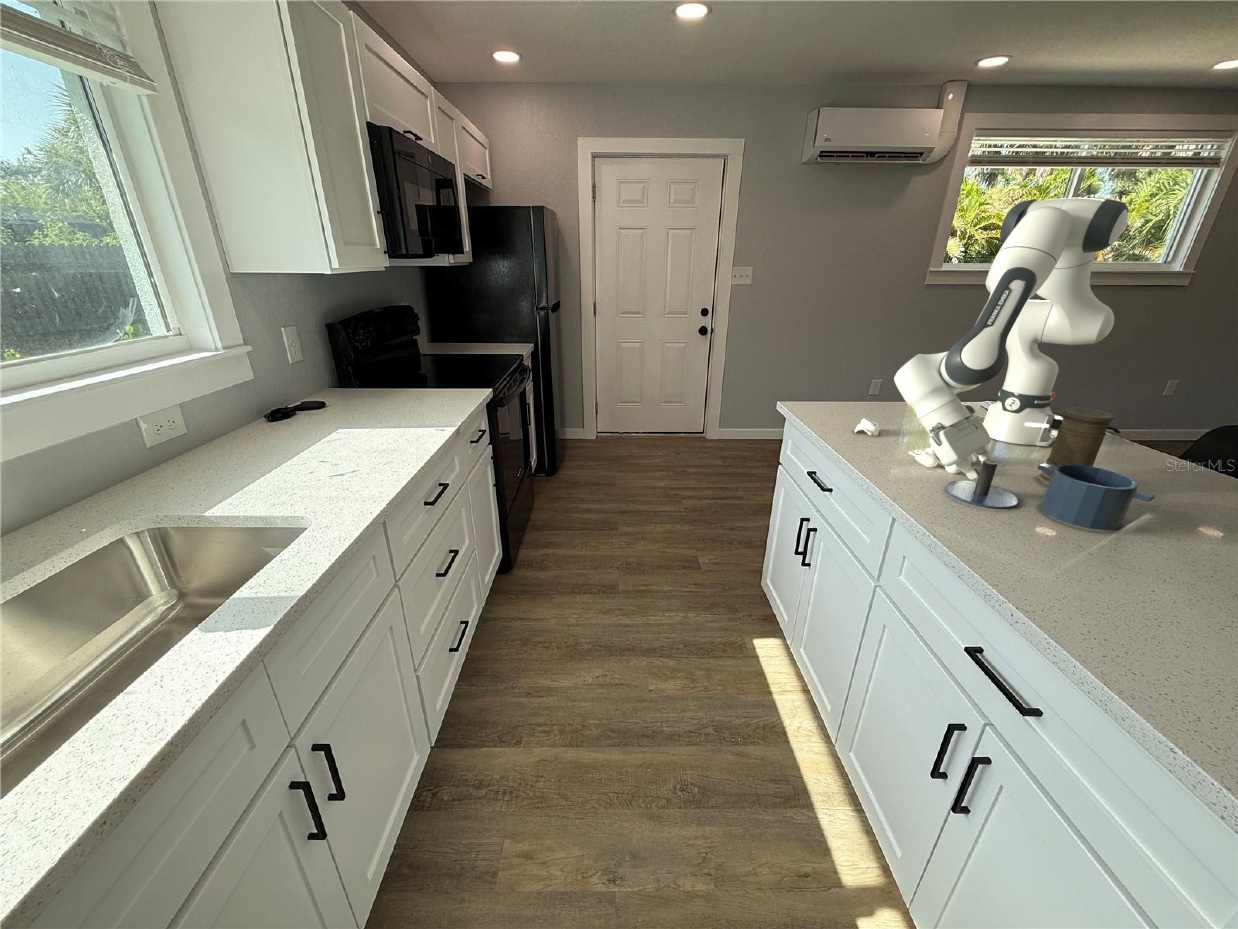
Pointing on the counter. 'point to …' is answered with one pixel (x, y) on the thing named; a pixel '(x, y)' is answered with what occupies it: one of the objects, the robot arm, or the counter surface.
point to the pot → (1089, 495)
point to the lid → (982, 490)
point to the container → (1078, 438)
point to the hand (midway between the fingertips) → (982, 472)
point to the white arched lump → (868, 426)
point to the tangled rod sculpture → (930, 459)
